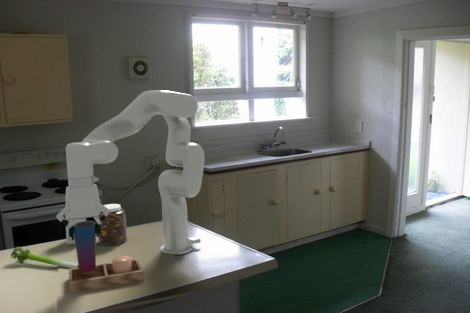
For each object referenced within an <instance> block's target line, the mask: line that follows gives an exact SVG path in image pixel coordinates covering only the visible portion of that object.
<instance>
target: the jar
mask: <svg viewBox="0 0 470 313" xmlns="http://www.w3.org/2000/svg"><path fill="white" fill-rule="evenodd" d="M102 205H103V204H102ZM103 206H105V207H106V208H108V209H109V210H110V212H109V214H108V215H107V216H106V218H105V219H104V220H103V221H102V222H101V224H100V227H101V233H99V237H97V239H98V244H99V245H101V246H108V247H109V246H117V245H121V244H124V243H125V242H126V241H127V240H128V234H127V220H126V211H125V209H123V208H122V206H121V204H118V203H109V204H104V205H103ZM103 213H104V211H103V210H101V209H100V215H99V217H100V216H101V215H102V214H103Z"/></svg>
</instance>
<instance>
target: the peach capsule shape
mask: <svg viewBox="0 0 470 313" xmlns="http://www.w3.org/2000/svg"><path fill="white" fill-rule="evenodd" d="M131 259H132V256H129V255H121V256H116V257H114V258H113V259H112V263H113V275H115V274H121V273H127V272H132V264H131Z"/></svg>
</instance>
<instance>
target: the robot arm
mask: <svg viewBox="0 0 470 313" xmlns="http://www.w3.org/2000/svg"><path fill="white" fill-rule="evenodd" d="M198 109H199V104H198V100H197V99H196V97H194V96H193V95H191V94H188V93H181V92H177V91H171V90H163V89H158V90H157V89H156V90H145V91H143V92H141V93H140V94H139V95H138V96H137V97H136V98H135V99H134V100H133V101H132V102H131V103H130V104H129V105H127V107H125V108H124V109H123V111H121V112H120V113H118V115H116V116H114V117H112V118H111V119H109V120H107V121H105V122H104V123H101V124H100V125H98V126H97V127H95V128H94V129H93V130H92V131H91V132H89V134H87V136H85V138H84V139H82V141H81V142H79V141H76V142H71V143H68V144H66V146H65V155H66V156H65V158H66V168H67V169H66V170H67V171H66V172H67V182H68V186H66V187H65V188H66V189H65V206H64V208H63V209H61V210H60V211H59V212H58V213H57V214H56V216H55V217H56V219H57V220H58V221H59V222H60V223H62V224H63V225H64V226H65V227H66V226H67V227H68V228H69V237H72V240H74V229H73V225H72V224H73V222H74V219H82V218H86V219H87V218H89V219H90V218H93V219H94V220H95V222H96V238H98V237H99V233H101V227H100V224H101V222H102V221H103V220H104V219H105V218H106V216H107V215H108V214H109V212H110V210H109V209H108V208H106V207H105V206H103V204H102V203H101V202H100V195H99V189H98V186H97V184H96V183H97V182H99V177H98V176H95V175H94V167H93V166H94V165H96V164H97V165H99V164H100V165H101V164H104V165H105V164H110V163H112V162H114V161H115V160H116V159H117V157H118V156H119V149H118V146H117V145H116V143H114V142H115V141H118V140H120V139H124V138H126V137H131V136H132V135H135V134H137V133H138V132H140V131H141V129H142V128H143V127H144V126H145V125H146V124H148V122H149V121H150V120H151V119H152V118H153V117H154V116H156V115H158V116H159V115H160V116H161V115H162V116H163V118H164V120H165V121H166V124H167V127H168V133H167V134H168V135H167V141H166V148H165V149H166V150H165V161H166V163H167V164H168V165H170V166H173V167H179V168H183V169H182V170H179V169H167V170H164V171H162V173H160V175H159V177H158V181H157V186H158V190H159V195H160V199H161V200H160V201H161V211H162V212H161V214H162V215H161V216H162V230H163V231H162V232H163V244H162V245H160V247H159V251H160V252H162V253H164V254H169V255H173V256H180V255H185V254H189V253H190V252H191V251H193V245H194V244H200V243H201V242H202V241H201V238H200V237H194V236H193V237H189V227H188V223H189V221H188V205H187V200H186V198H194V197H196V196H197V195H198V194H199V192H200V191H201V188H202V183H203V175H204V168H205V167H204V166H205V152H204V148H203V147H202V146H201V145H200V144H198V143H195V142H191V133H192V130H191V124H190V122H189V120H188V118H191V117H193V116H194V115H195V114H196V113H197V112H198ZM100 210H103V211H104V213H103V214H102V215H101V216H100V217H99V215H100ZM65 213H66V215H67V218H68V219H69V221H67V220H66V219H65V217H64V216H65Z"/></svg>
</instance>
